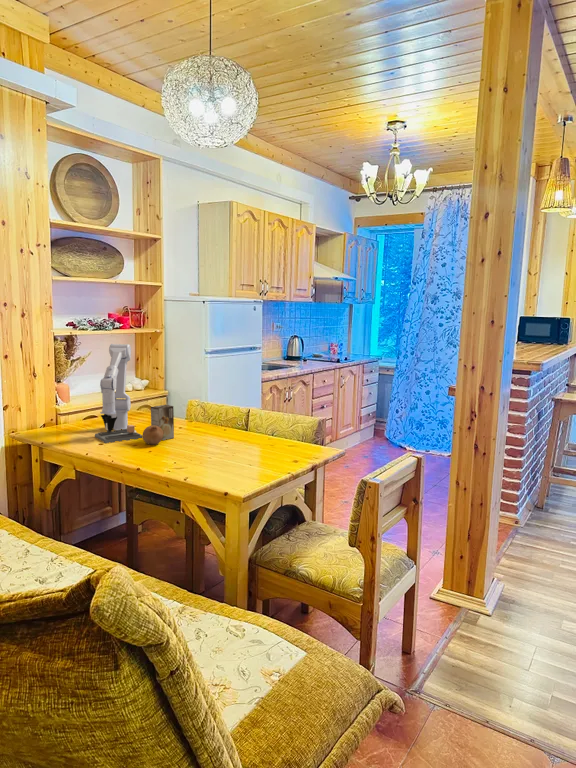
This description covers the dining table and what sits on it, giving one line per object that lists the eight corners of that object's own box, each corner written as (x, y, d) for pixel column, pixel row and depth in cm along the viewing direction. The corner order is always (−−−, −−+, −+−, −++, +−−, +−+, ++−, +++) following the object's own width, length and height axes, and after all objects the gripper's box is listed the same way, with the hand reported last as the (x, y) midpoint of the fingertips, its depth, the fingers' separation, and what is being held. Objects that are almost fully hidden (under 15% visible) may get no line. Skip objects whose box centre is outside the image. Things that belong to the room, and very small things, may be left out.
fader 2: (127, 435, 259) (127, 425, 258) (132, 434, 260) (131, 424, 260) (129, 436, 256) (129, 426, 256) (134, 435, 258) (134, 426, 257)
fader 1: (105, 433, 262) (105, 423, 261) (110, 432, 264) (110, 422, 263) (108, 434, 260) (107, 424, 259) (112, 433, 261) (112, 424, 260)
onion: (156, 452, 248) (157, 435, 242) (138, 445, 249) (139, 428, 244) (166, 440, 256) (167, 424, 250) (148, 434, 257) (149, 417, 252)
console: (94, 436, 261) (94, 431, 261) (130, 432, 272) (130, 427, 272) (105, 443, 249) (105, 437, 249) (142, 438, 260) (142, 432, 260)
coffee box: (165, 436, 266) (165, 404, 264) (174, 438, 262) (174, 405, 260) (150, 439, 259) (150, 406, 257) (159, 441, 255) (159, 408, 253)
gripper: (95, 400, 263) (96, 428, 265) (105, 405, 251) (106, 433, 253) (109, 399, 267) (110, 426, 269) (120, 404, 256) (120, 432, 258)
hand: (109, 429), depth 261 cm, fingers closed on fader 1, 3 cm apart
